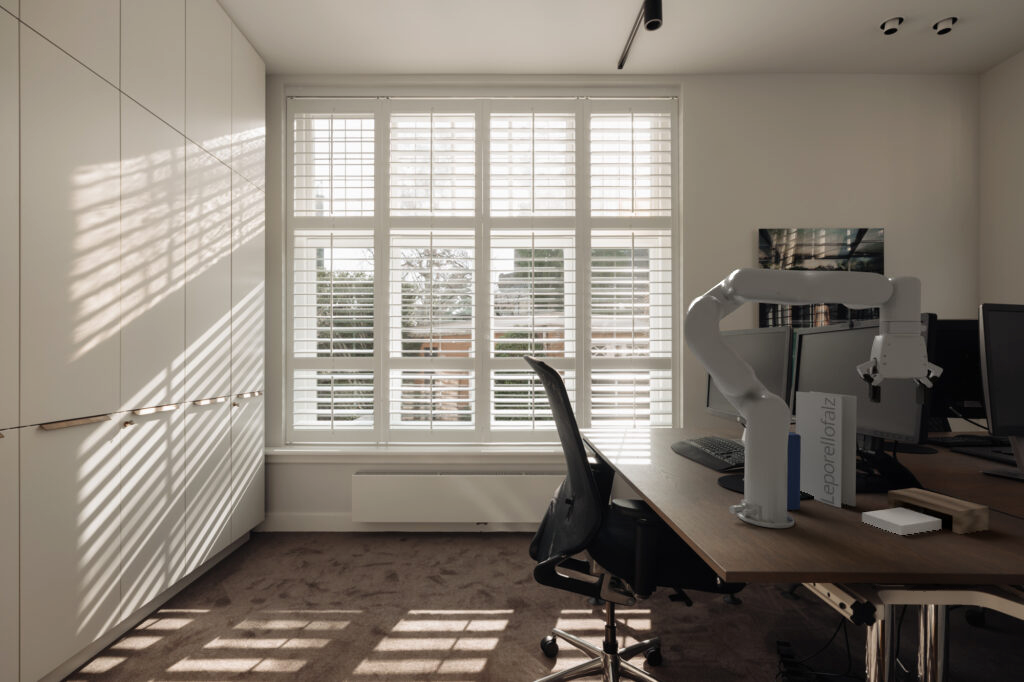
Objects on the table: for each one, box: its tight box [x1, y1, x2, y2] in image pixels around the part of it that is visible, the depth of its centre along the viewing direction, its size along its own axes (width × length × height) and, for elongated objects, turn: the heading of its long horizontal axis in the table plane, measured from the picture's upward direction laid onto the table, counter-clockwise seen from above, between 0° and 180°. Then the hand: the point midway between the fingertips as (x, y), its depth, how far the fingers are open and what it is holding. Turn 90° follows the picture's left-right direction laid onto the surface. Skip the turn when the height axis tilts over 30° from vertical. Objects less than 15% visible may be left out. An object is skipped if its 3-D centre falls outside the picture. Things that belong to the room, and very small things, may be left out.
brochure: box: [795, 390, 858, 509], centre depth 139 cm, size 14×6×30 cm, turn 18°
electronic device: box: [787, 431, 801, 511], centre depth 133 cm, size 10×5×20 cm, turn 9°
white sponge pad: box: [861, 507, 942, 536], centre depth 118 cm, size 14×9×2 cm, turn 109°
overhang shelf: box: [887, 487, 990, 535], centre depth 123 cm, size 10×16×6 cm, turn 19°
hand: (898, 403), depth 114 cm, fingers open, 9 cm apart
